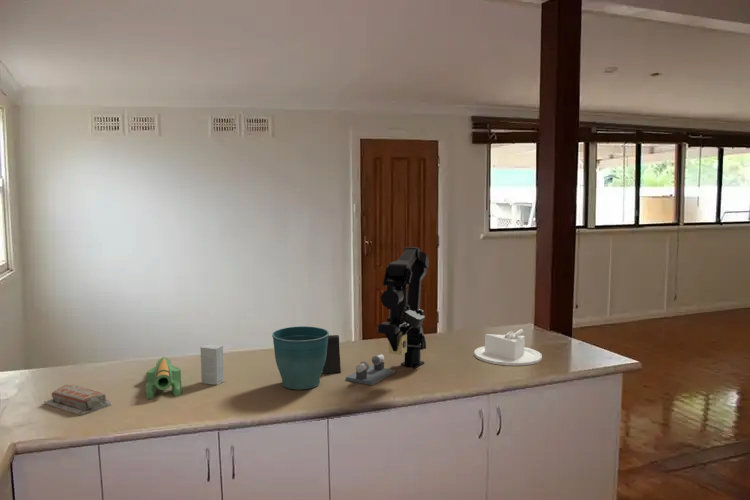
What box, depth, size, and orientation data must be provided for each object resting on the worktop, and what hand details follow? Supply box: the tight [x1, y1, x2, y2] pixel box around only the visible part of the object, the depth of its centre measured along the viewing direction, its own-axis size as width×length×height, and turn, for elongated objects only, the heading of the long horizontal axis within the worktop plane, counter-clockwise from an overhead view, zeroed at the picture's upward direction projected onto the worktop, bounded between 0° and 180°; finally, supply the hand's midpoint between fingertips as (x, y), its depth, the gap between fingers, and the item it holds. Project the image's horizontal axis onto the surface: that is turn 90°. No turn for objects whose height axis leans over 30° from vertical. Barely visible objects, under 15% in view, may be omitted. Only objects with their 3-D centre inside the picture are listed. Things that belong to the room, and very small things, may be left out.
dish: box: [473, 328, 543, 367], centre depth 231 cm, size 25×25×11 cm
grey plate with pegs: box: [345, 354, 395, 386], centre depth 206 cm, size 15×10×6 cm, turn 150°
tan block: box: [388, 333, 407, 356], centre depth 199 cm, size 5×4×6 cm
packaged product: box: [44, 384, 112, 416], centre depth 180 cm, size 18×5×10 cm
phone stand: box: [322, 334, 342, 375], centre depth 213 cm, size 9×6×12 cm, turn 12°
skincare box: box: [199, 344, 225, 386], centre depth 199 cm, size 6×4×12 cm
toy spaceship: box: [144, 356, 183, 400], centre depth 200 cm, size 32×10×7 cm, turn 19°
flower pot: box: [271, 325, 330, 391], centre depth 197 cm, size 18×18×17 cm
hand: (397, 349), depth 200 cm, fingers closed on tan block, 4 cm apart
